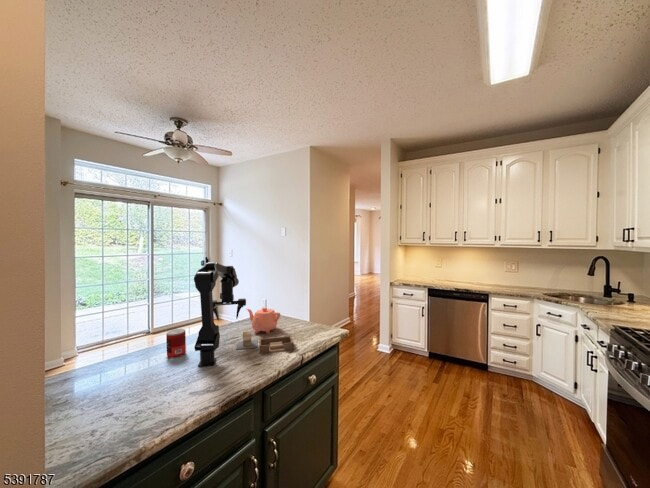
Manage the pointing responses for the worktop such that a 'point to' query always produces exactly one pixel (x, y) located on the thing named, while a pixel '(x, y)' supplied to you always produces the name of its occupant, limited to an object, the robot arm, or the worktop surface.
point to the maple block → (246, 338)
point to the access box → (276, 344)
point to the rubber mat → (253, 345)
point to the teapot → (264, 320)
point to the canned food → (176, 343)
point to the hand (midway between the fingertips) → (227, 319)
